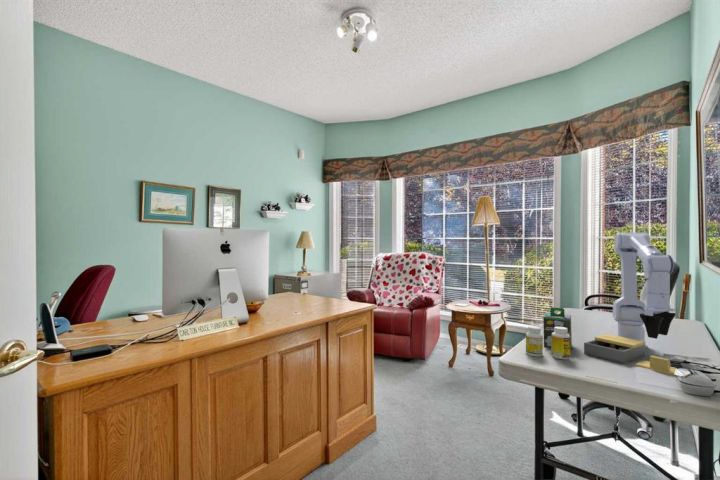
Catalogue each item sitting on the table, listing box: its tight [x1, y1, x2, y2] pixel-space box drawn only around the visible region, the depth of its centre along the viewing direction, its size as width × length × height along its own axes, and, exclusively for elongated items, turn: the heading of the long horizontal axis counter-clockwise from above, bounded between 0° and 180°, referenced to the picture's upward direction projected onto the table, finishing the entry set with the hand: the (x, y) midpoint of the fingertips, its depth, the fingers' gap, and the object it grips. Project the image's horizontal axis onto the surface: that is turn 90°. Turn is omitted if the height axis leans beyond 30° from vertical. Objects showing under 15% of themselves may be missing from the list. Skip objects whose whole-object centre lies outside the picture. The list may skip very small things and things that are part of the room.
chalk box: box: [542, 306, 573, 351], centre depth 134 cm, size 9×9×15 cm
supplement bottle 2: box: [551, 327, 571, 360], centre depth 119 cm, size 6×6×10 cm
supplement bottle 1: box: [525, 325, 544, 358], centre depth 122 cm, size 5×5×10 cm
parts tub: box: [583, 333, 646, 365], centre depth 123 cm, size 17×12×5 cm
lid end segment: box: [634, 355, 677, 376], centre depth 109 cm, size 7×12×4 cm, turn 31°
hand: (657, 336), depth 109 cm, fingers open, 7 cm apart
